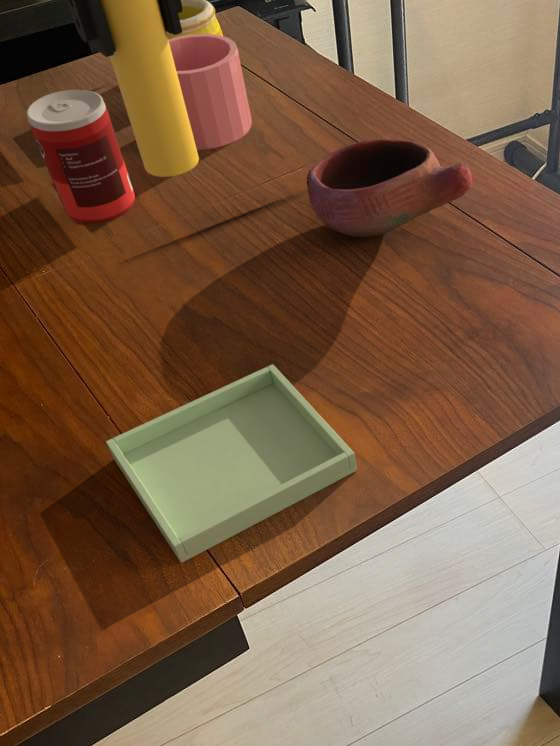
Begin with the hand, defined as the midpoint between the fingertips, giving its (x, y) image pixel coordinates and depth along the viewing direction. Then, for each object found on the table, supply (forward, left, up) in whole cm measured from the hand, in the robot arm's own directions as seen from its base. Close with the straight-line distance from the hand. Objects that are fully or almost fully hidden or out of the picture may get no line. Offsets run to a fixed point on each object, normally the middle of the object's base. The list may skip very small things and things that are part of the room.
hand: (135, 35), depth 55 cm
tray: (-6, -13, -26) cm, 30 cm away
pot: (+17, +39, -26) cm, 50 cm away
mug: (+22, +56, -26) cm, 66 cm away
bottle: (0, 0, -9) cm, 9 cm away
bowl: (+23, +8, -26) cm, 36 cm away
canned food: (0, +31, -26) cm, 41 cm away
